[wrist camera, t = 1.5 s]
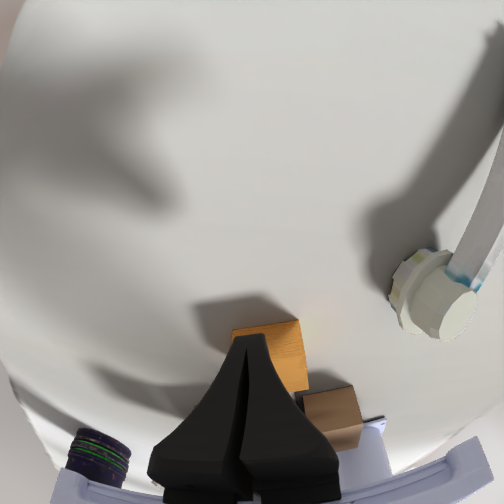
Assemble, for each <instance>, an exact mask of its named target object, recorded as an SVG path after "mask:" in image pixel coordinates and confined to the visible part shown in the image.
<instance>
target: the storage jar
mask: <svg viewBox="0 0 504 504" xmlns="http://www.w3.org/2000/svg"><path fill="white" fill-rule="evenodd" d="M70 448H71V449H70V450H69V453H68V461H67V464H66V467H65V469H68V470H71V471H74V472H76V473H79V474H81V475H83V476H84V477H86V478H87V479H88V480H90V481H94V482H97V483H101V484H105V485H108V486H112V487H116V488H120V489H121V487H122V483H123V481H125V478H126V473H127V471H128V467H129V466H128V464H129V458H130V456H131V451H130V450H129V448H127V447H126V446H125V445H124V444H122V443H121V442H119V441H117V440H116V439H114V438H112V437H110V436H108V435H105V434H103V433H101V432H98V431H95V430H92V429H87V428H79V429H78V430H77V435H76V437H75V438H74V441H72V444H71V446H70Z"/></svg>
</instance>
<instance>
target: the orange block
mask: <svg viewBox="0 0 504 504" xmlns="http://www.w3.org/2000/svg"><path fill="white" fill-rule="evenodd" d="M257 333H263V334H265V337H266V341H267V346H268V350H269V354H270V358H271V361H272V363H273V366H274V368H275V370H276V372H277V374H278V376H279V378H280V379H281V381H282V383H283V385H284V386H285V388H286V390H287V391H288V393H289V394H290V396H291V397H292V399H293V400H294V401H295V403H296V399H295V393H294V392H296V391H302V390H308V389H309V384H308V375H307V366H306V357H305V351H304V345H303V340H302V335H301V329H300V324H299V320H295V321H289V322H283V323H277V324H271V325H264V326H258V327H251V328H244V329H236V330H232V341H231V344H232V342H233V339H234V338H235V336H243V335H250V334H257Z"/></svg>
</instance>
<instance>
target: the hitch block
mask: <svg viewBox="0 0 504 504" xmlns="http://www.w3.org/2000/svg"><path fill="white" fill-rule="evenodd" d="M303 401H304V408H305V416H306V417H307V418H308V419H309V420H310V421H311V422H312V423H313V425H314V426H315V427H316V428H317V429H318V430H319V431H320V432H321V433H322V434H323V435H325V437H326V438H327V440H328V441H329V443H330V444H331V446H332V447H333V449H334V450H335V452H341V451H345V450H350V449H354V448H358V444H359V440H360V436H361V432H362V428H363V424H364V423H363V420H362V416H361V412H360V409H359V405H358V402H357V398H356V395H355V391H354V388H353V386H349V387H345V388H340V389H336V390H331V391H326V392H321V393H315V394H310V395H304V396H303ZM195 407H196V406H195ZM195 407H194V409H195Z"/></svg>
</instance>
